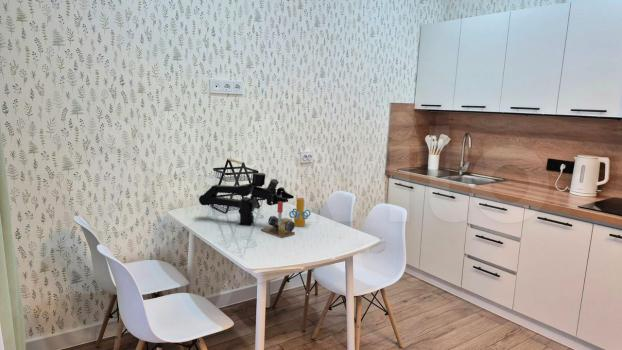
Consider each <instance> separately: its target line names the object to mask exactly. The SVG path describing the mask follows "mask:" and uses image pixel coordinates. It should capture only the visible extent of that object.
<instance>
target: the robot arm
mask: <svg viewBox="0 0 622 350" xmlns="http://www.w3.org/2000/svg"><path fill="white" fill-rule="evenodd" d="M251 181H252V182H250V183H245V184H239V185H227V184H226V185H224V184H223V185H222V184H221V185H220V184H214V185H212V186H211V187H210V188H209V189H208V190H207V191H206V192H204V193H203V194H202V195H200V196H199V197H198V202H199V203H200V204H199V205H201V206H212V205H218V206H225V207H232V208H238V213H239V223H238V225H239V226H240V225H241V226H251V225H253V224H254V223H255V218H254V217H255V215H254V211H255V209H257V207H258V202H257V200H256V199H257V198H258V199H262V200H263V201H265V202H266V205H267V206H275V205H278V202H280V201H281V202H283V204H284V203H288V202H289V200H291V199H294V198H295V197H294V195H292V194H291V193H288V192H286V189H285V187H282V186H280V187H279V188H277V186H278V185H279V183H280V181H279V180H278V179H276V178H272V179H271V180H270V181H269V183H268V186H267V187H266V188H265V187H263V186H265V185H266V184H265V183H266V173H263V172H252V178H251ZM217 194H234V195H237V196H240V197H243V198H240V199H237V198H229V197H223V196H218V195H217ZM248 196H249V197H248Z"/></svg>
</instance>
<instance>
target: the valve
mask: <svg viewBox="0 0 622 350" xmlns="http://www.w3.org/2000/svg"><path fill="white" fill-rule="evenodd" d="M277 222H278V217H277V216H274V215H271V216H269V218H268V227H264V228H261V230H260V231H261V232H263V233H266V234H268V235H269V234H270V235H272V236H275V237H278V238H281V239H285V238H287V237H291V236H294V235H295V234H296V231H295V232H294V229H295V227H296V226H295V225H294V221H293V218H288V217H283V218H282V217H281V222H282V225H280V226H278V225H277Z"/></svg>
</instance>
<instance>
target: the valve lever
mask: <svg viewBox="0 0 622 350" xmlns="http://www.w3.org/2000/svg"><path fill="white" fill-rule="evenodd" d="M283 207H284V203H283V202H281V201H280V202H278V204H277V213H278V217H277V218H278V222H277V225H278V226H280V225H282V222H281V219H282V213H284V212H283V209H284V208H283Z"/></svg>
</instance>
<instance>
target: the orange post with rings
mask: <svg viewBox="0 0 622 350" xmlns="http://www.w3.org/2000/svg"><path fill="white" fill-rule="evenodd" d="M304 206H305V198H304V197H297V198H296V208H295V207H294V208H292V210H290V211H289V213H288V215H289V218H290V219H293V222H294V225H295V226H294V227H298V228H300V227H301V228H302V227H305V226H306V220H307V219H308V218H309V217H310V216H311V210H309V209H305V207H304ZM292 215H293V216H292Z"/></svg>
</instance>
